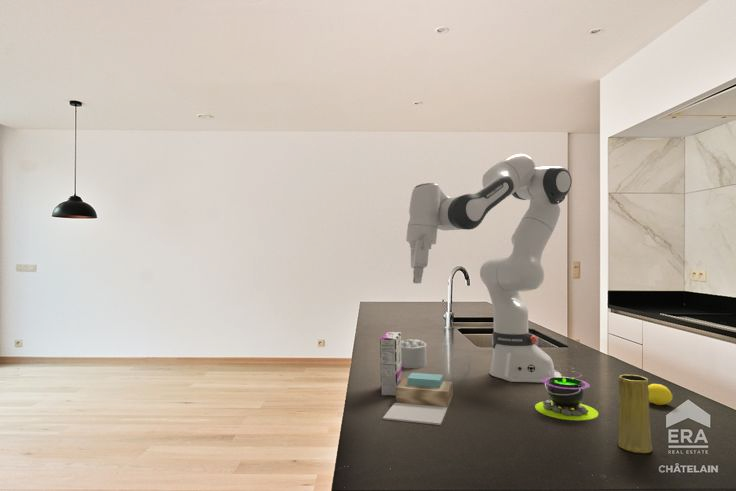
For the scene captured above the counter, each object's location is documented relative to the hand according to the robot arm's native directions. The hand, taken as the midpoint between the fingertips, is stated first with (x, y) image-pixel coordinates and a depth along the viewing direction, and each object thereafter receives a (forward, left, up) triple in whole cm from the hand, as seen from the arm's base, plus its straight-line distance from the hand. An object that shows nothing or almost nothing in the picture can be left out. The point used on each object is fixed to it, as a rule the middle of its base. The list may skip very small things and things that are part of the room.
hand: (416, 283), depth 136 cm
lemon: (-63, -6, -32) cm, 71 cm away
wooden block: (-3, +7, -32) cm, 32 cm away
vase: (-50, +27, -32) cm, 65 cm away
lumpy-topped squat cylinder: (+9, -33, -32) cm, 47 cm away
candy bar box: (+8, +1, -32) cm, 33 cm away
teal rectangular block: (-3, +6, -28) cm, 28 cm away
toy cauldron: (-39, +6, -32) cm, 51 cm away
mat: (-3, +19, -32) cm, 37 cm away
